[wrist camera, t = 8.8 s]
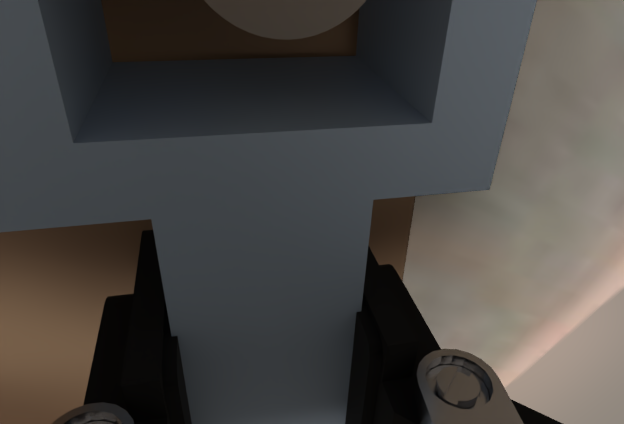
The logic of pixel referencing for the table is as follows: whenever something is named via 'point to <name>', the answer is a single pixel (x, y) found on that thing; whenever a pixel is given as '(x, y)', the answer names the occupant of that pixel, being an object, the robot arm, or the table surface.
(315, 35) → the board
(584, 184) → the table surface
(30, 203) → the link
